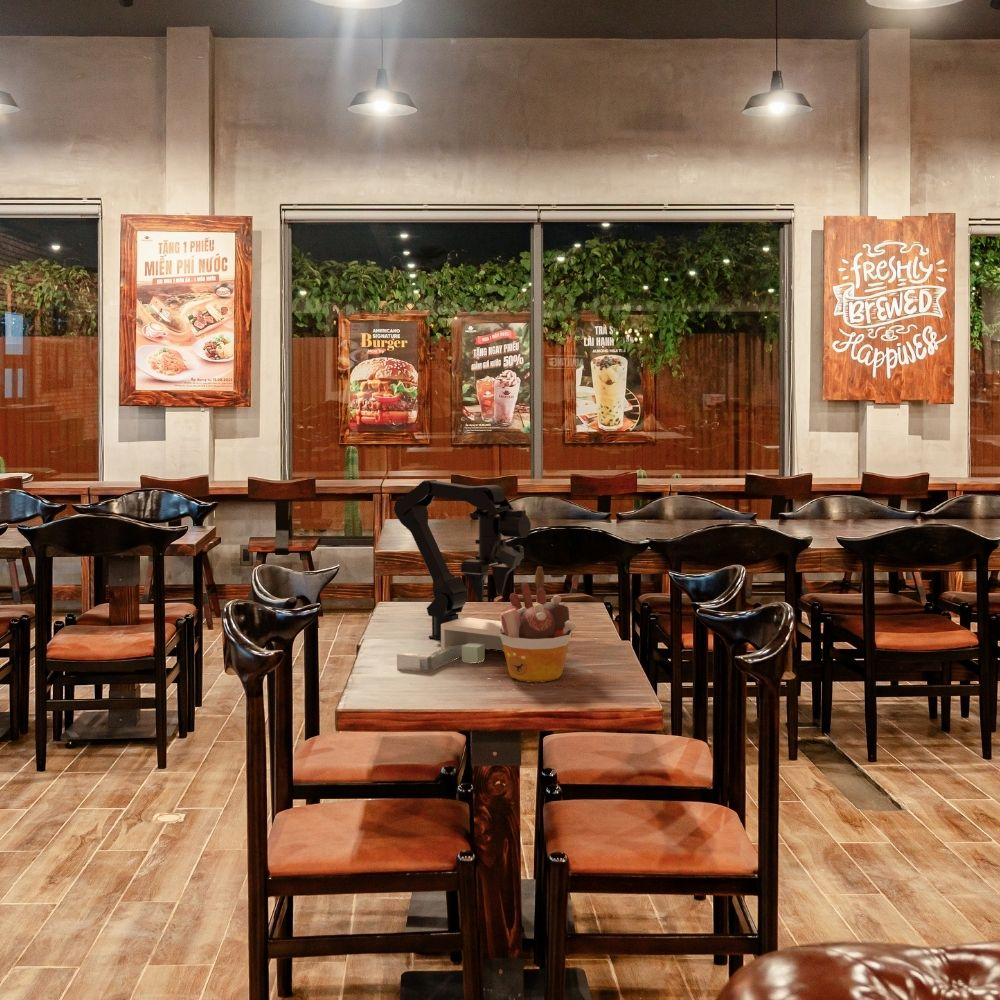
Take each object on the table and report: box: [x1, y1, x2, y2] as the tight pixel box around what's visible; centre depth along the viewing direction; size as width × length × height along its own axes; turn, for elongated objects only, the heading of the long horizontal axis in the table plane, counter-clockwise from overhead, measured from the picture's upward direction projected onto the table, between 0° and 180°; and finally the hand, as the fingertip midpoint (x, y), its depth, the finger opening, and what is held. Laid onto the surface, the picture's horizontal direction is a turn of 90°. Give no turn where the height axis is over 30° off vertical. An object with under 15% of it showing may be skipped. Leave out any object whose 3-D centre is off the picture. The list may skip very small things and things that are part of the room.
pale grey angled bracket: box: [396, 643, 466, 673], centre depth 270 cm, size 13×18×4 cm
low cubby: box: [440, 616, 504, 651], centre depth 280 cm, size 20×10×7 cm, turn 58°
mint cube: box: [461, 643, 486, 664], centre depth 272 cm, size 4×4×4 cm
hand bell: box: [533, 566, 545, 607], centre depth 316 cm, size 8×8×16 cm
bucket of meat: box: [500, 582, 577, 682], centre depth 256 cm, size 20×16×20 cm
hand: (490, 596), depth 291 cm, fingers open, 9 cm apart
